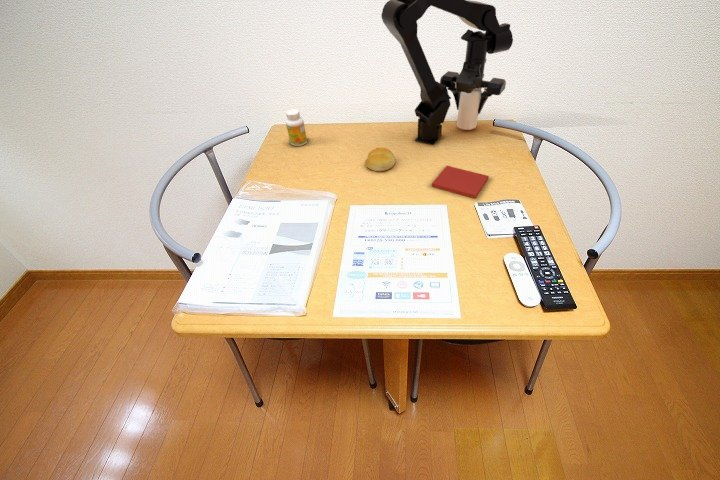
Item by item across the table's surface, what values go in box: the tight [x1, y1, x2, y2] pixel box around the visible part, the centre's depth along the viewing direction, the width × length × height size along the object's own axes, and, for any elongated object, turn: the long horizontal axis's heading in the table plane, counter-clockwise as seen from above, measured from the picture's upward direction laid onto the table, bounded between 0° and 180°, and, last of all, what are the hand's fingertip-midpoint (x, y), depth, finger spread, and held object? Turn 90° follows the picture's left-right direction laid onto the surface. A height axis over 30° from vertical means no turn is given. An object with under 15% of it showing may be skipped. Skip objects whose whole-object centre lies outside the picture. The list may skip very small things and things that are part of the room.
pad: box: [431, 165, 489, 199], centre depth 96 cm, size 12×10×1 cm
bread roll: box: [364, 146, 396, 172], centre depth 103 cm, size 8×9×4 cm
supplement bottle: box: [285, 108, 308, 147], centre depth 112 cm, size 5×5×10 cm
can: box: [455, 87, 483, 131], centre depth 114 cm, size 6×6×12 cm
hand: (468, 111), depth 115 cm, fingers closed on can, 6 cm apart
